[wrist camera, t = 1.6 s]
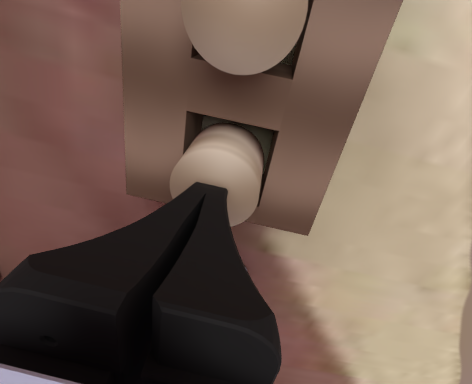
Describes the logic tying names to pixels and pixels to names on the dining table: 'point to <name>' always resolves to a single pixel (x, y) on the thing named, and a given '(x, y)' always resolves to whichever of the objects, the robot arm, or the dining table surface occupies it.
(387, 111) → the dining table surface
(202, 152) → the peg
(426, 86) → the dining table surface
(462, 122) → the dining table surface
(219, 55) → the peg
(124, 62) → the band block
